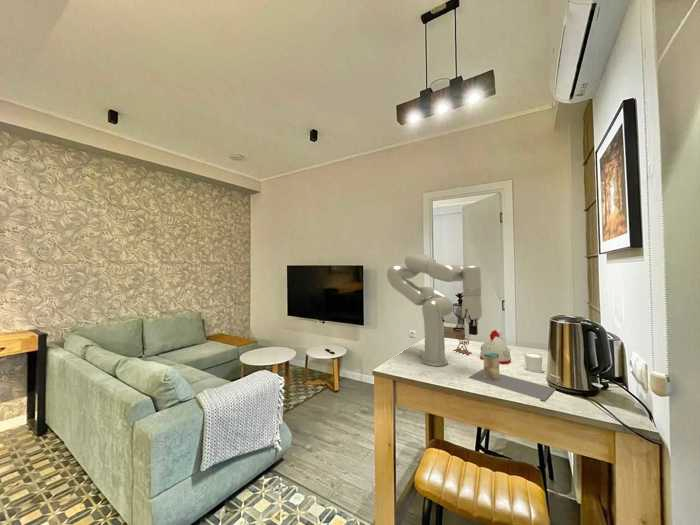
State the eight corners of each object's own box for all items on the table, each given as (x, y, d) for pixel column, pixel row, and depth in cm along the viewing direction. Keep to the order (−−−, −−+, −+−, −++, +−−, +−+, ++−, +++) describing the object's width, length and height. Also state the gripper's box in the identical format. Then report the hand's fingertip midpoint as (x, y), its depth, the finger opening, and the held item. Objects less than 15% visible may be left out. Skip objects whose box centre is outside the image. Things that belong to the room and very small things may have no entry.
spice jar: (483, 377, 122) (483, 354, 122) (488, 374, 125) (488, 351, 125) (494, 380, 119) (494, 356, 119) (499, 377, 122) (498, 354, 122)
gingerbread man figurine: (471, 354, 155) (471, 331, 155) (467, 355, 153) (467, 333, 153) (457, 350, 163) (457, 329, 163) (453, 351, 160) (452, 330, 160)
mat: (467, 378, 122) (467, 377, 122) (482, 370, 132) (482, 369, 132) (544, 401, 101) (544, 400, 101) (555, 389, 111) (555, 388, 111)
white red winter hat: (474, 359, 147) (474, 330, 147) (488, 353, 155) (488, 326, 155) (502, 366, 136) (502, 335, 136) (515, 360, 144) (515, 330, 144)
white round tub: (530, 367, 135) (530, 352, 135) (546, 372, 128) (545, 356, 129) (521, 369, 132) (521, 354, 132) (536, 374, 126) (536, 358, 126)
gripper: (471, 291, 136) (472, 330, 135) (455, 294, 126) (456, 336, 125) (487, 292, 130) (489, 332, 130) (472, 295, 120) (473, 338, 120)
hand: (473, 334), depth 128 cm, fingers closed
